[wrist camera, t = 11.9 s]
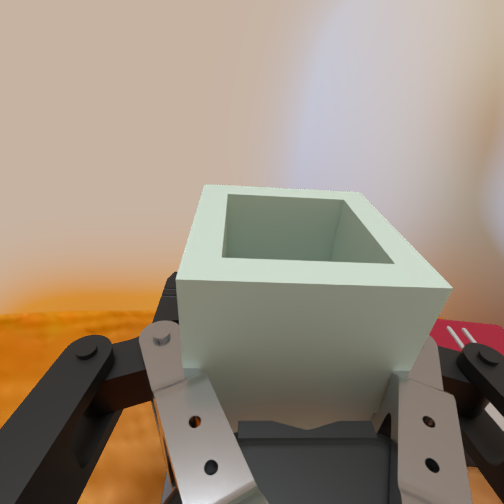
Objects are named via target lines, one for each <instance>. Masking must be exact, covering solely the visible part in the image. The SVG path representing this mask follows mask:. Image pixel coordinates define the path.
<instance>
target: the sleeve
mask: <svg viewBox="0 0 504 504" xmlns="http://www.w3.org/2000/svg"><path fill="white" fill-rule="evenodd" d="M175 280H176V292H177V304H178V316H179V328H180V340H181V353H182V365H183V368H199V369H200V371H201V373H202V372H205V373H206V374H207V376H208V378H209V380H210V382H211V384H212V387H213V389H214V391H215V393H216V396H217V398H218V400H219V402H220V405H221V407H222V409H223V411H224V413H225V416H226V418H227V420H228V422H229V425H230V427H231V429H232V431H233V433H234V432H237V430H238V421H274V422H278V423H282V424H286V425H290V426H293V427H297V428H301V429H305V430H310V429H313V428H317V427H320V426H323V425H327V424H330V423H334V422H337V421H369V420H370V418H371V416H372V414H373V413H377V412H378V410H379V407H380V405H381V403H382V401H383V399H384V397H385V394H386V391H387V386H388V380H389V378H390V376H391V374H392V372H393V371H410V370H411V368H412V366H413V364H414V362H415V360H416V358H417V357H418V355H419V353H420V351H421V349H422V347H423V345H424V343H425V341H426V339H427V337H428V336H429V334H430V332H431V330H432V328H433V326H434V324H435V322H436V320H437V318H438V316H439V315H440V312H441V311H442V309H443V307H444V305H445V303H446V301H447V299H448V297H449V295H450V293H451V291H452V290H453V288H452V287H451V286H450V285H449V284H448V283H447V281H445V279H444V278H443V277H442V276H441V275H440V274H439V273H438V272H437V271H436V270H435V269H434V268H433V267H432V266H431V265H430V264H429V263H428V262H427V261H426V260H425V259H424V258H423V257H422V256H421V255H420V254H419V253H418V252H417V251H416V250H415V249H414V248H413V247H412V246H411V244H410V243H408V242H407V240H406V239H405V238H404V237H403V236H402V235H401V234H400V233H399V232H398V231H397V230H396V229H395V228H394V227H393V226H392V225H391V224H390V223H389V222H388V221H387V220H386V219H385V218H384V217H383V216H382V215H381V214H380V213H379V212H378V211H377V210H376V209H375V208H374V206H372V204H371V203H370V202H369V201H368V200H367V199H366V198H365V197H364V196H363V195H362V194H361V193H360V192H344V191H324V190H306V189H304V190H303V189H287V188H267V187H249V186H248V187H247V186H229V185H210V184H205V185H204V188H203V191H202V195H201V198H200V201H199V204H198V208H197V211H196V214H195V217H194V221H193V224H192V227H191V230H190V234H189V237H188V240H187V244H186V247H185V250H184V253H183V257H182V260H181V263H180V266H179V270H178V273H177V276H176V279H175Z"/></svg>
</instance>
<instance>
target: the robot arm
mask: <svg viewBox="0 0 504 504" xmlns="http://www.w3.org/2000/svg"><path fill="white" fill-rule="evenodd" d="M177 273H178V272H174V273H173V274H172V275H171V276H170V277H169V278H168V279H167V281H166V285H165V287H164V290H163V293H162V297H161V299H160V302H159V305H158V308H157V311H156V314H155V316H154V319H153V322H152V324H150V325H148V326H147V327H146V328H144V329H143V331H142V332H141V334H140V336H139V337H137V338H134V339H131V340H128V341H123V342H119V343H115V344H111V342H110V340H109V339H108V338H106V337H104V336H101V335H90V336H85V337H82V338H80V339H78V340H76V341H74V342H73V343H71V344H70V345H69V346H68V347H67V348H66V349H65V350H64V351H63V352H62V354H61V355H60V356H59V357H58V359H57V360H56V361H55V362H54V364H53V365H52V366H51V367H50V368H49V370H48V371H47V372H46V373H45V375H44V376H43V377H42V378H41V380H40V381H39V382H38V383H37V385H36V386H35V387H34V388H33V389H32V391H31V392H30V393H29V394H28V396H27V397H26V398H25V399H24V401H23V402H22V403H21V404H20V406H19V407H18V408H17V409H16V410H15V412H14V413H13V414H12V415H11V417H10V418H9V419H8V420H7V422H6V423H5V424H4V425H3V427H2V428H1V429H0V504H77V502H78V500H79V498H80V496H81V494H82V492H83V490H84V488H85V486H86V484H87V482H88V480H89V478H90V476H91V474H92V472H93V470H94V468H95V466H96V464H97V462H98V460H99V458H100V456H101V454H102V451H103V449H104V447H105V445H106V443H107V441H108V439H109V437H110V435H111V433H112V431H113V429H114V427H115V425H116V423H117V421H118V419H119V417H120V415H121V413H122V411H123V409H124V408H128V407H131V406H134V405H137V404H141V403H144V402H147V401H151V405H152V409H153V413H154V417H155V421H156V425H157V429H158V433H159V437H160V441H161V445H162V449H163V454H164V458H165V463H166V467H167V471H168V476H169V480H170V484H171V488H172V492H171V494H170V495H169V496H168V498H167V499H166V500H165V501H164V503H163V504H473V503H472V497H471V491H470V485H469V479H468V473H467V467H466V461H465V455H464V449H465V451H466V452H467V453H468V455H469V456H470V458H471V459H472V460H473V462H474V463H475V465H476V466H477V467H478V469H479V470H480V472H481V473H482V474H483V476H484V477H485V479H486V480H487V481H488V483H489V484H490V486H491V487H492V488H493V490H494V491H495V492H496V494H497V495H498V497H499V498H500V499H501V501H502V502H503V504H504V431H503V430H502V429H501V428H500V427H499V425H498V424H497V423H496V422H495V421H494V420H493V418H492V417H491V416H490V415H489V414H488V413H487V411H486V410H485V408H486V406H487V405H488V404H489V403H491V404H492V405H493V406H494V407H495V408H496V409H497V411H498V412H499V413H500V414H501V415H502V416H503V417H504V356H503V355H502V354H501V353H499V352H498V351H496V350H495V349H493V348H491V347H489V346H486V345H483V344H480V343H468V344H466V345H465V346H464V347H463V349H462V350H461V352H460V351H456V350H453V349H449V348H445V347H441V346H438V345H437V344H436V342H435V340H434V339H433V338H432V337H431V336H430V335H429V336H428V337H427V339H426V341H425V343H424V345H423V347H422V349H421V351H420V353H419V355H418V357H417V358H416V360H415V362H414V364H413V366H412V368H411V370H410V371H393V372H392V374H391V376H390V378H389V380H388V386H387V391H386V394H385V397H384V399H383V401H382V403H381V405H380V407H379V410H378V412H377V413H373V414H372V416H371V418H370V420H369V421H337V422H334V423H330V424H327V425H323V426H320V427H317V428H313V429H310V430H305V429H301V428H297V427H293V426H290V425H286V424H282V423H278V422H274V421H238V430H237V432H234V433H233V431H232V429H231V427H230V425H229V422H228V420H227V418H226V416H225V413H224V411H223V409H222V407H221V405H220V402H219V400H218V398H217V396H216V393H215V391H214V389H213V387H212V384H211V382H210V380H209V378H208V376H207V374H206V373H205V372H202V373H201V371H200V369H199V368H183V365H182V353H181V340H180V328H179V316H178V304H177V292H176V280H175V279H176V276H177ZM463 448H464V449H463Z"/></svg>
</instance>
